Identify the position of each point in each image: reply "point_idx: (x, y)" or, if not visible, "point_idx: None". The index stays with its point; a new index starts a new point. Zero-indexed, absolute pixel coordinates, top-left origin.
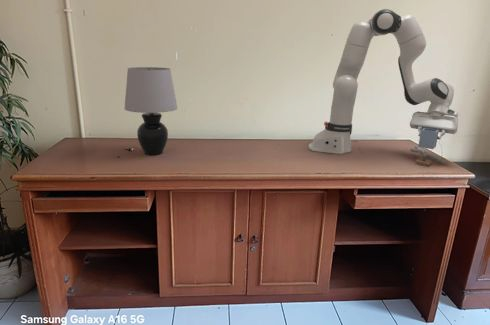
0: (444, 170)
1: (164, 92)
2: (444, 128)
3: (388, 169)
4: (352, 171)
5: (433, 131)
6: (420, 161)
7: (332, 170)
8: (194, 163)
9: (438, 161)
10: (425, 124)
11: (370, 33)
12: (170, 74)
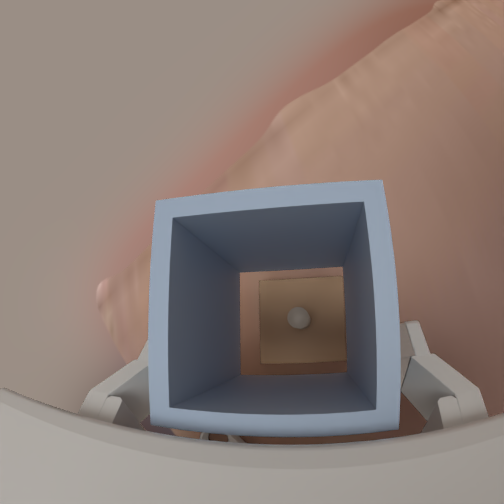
0: None
1: None
2: (72, 416)
3: (391, 99)
4: (441, 28)
5: (233, 403)
6: (315, 289)
7: (469, 17)
8: None
9: (240, 438)
10: (404, 467)
11: None
12: None
